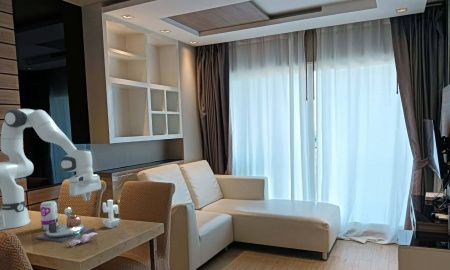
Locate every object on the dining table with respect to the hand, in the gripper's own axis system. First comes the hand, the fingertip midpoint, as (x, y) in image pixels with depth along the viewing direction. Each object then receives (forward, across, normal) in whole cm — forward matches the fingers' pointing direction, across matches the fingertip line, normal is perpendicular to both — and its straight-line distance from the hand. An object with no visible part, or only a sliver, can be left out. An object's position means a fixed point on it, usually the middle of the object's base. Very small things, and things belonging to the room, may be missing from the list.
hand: (86, 200), depth 190 cm
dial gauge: (+14, +7, -7) cm, 17 cm away
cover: (+11, +10, 0) cm, 15 cm away
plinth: (+15, +15, -1) cm, 21 cm away
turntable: (+13, +15, -1) cm, 20 cm away
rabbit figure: (+15, +23, +21) cm, 34 cm away
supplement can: (+15, +10, -20) cm, 26 cm away
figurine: (+15, -3, +14) cm, 21 cm away
